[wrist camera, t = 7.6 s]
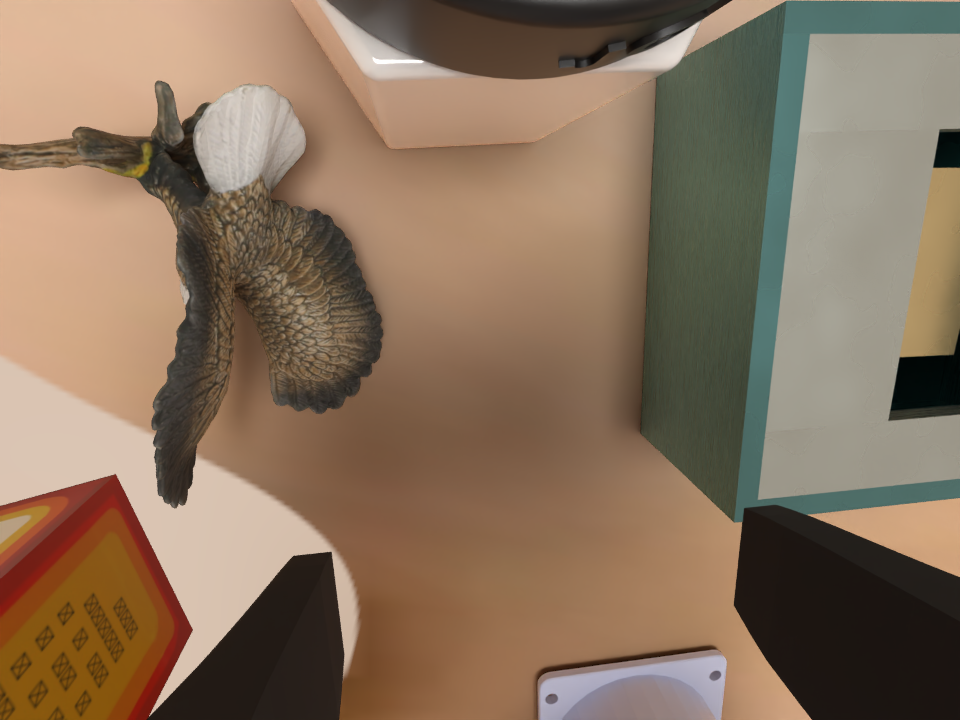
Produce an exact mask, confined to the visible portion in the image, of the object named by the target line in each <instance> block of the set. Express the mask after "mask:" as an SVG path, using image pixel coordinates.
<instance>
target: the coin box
mask: <svg viewBox="0 0 960 720" xmlns="http://www.w3.org/2000/svg"><path fill="white" fill-rule="evenodd" d="M933 168H960V2H907V1H785V2H783V3H782V4H780V5H778V6H776V7H774V8H773V9H771V10H769V11H767V12H765V13H763V14H762V15H760V16H758V17H756V18H754V19H753V20H751V21H749V22H747V23H745V24H744V25H742V26H740V27H738V28H736V29H734V30H733V31H731V32H729V33H727V34H725V35H724V36H722V37H720V38H718V39H716V40H715V41H713V42H711V43H709V44H707V45H705V46H704V47H702V48H700V49H698V50H696V51H695V52H693V53H691V54H689V55H687V56H686V57H684V58H682V59H681V61H680V62H679V63H678V65H677V66H676V67H674V68H673V69H671V70H669V71H668V72H666V73H664V74H662V75H660V76H658V77H657V87H656V109H655V131H654V152H653V174H652V195H651V217H650V239H649V260H648V282H647V303H646V325H645V347H644V368H643V390H642V412H641V434H642V435H643V436H644V437H645V438H646V439H647V440H648V441H649V442H650V443H651V444H652V445H653V446H654V447H656V448H657V449H658V450H659V451H660V452H661V453H662V454H663V455H664V456H665V457H666V458H667V459H668V460H669V461H670V462H671V463H672V464H673V465H674V466H675V467H676V468H678V469H679V470H680V471H681V472H682V473H683V474H684V475H685V476H686V477H687V478H688V479H689V480H690V481H691V482H692V483H693V484H694V485H695V486H696V487H697V488H698V489H700V490H701V491H702V492H703V493H704V494H705V495H706V496H707V497H708V498H709V499H710V500H711V501H712V502H713V503H714V504H715V505H716V506H717V507H718V508H719V509H720V510H722V511H723V512H724V513H725V514H726V515H727V516H728V517H729V518H730V519H731V520H732V521H733V522H743V513H744V508H748V507H758V506H767V505H779V506H782V507H785V508H788V509H791V510H794V511H797V512H800V513H803V514H805V515H808V514H817V513H826V512H835V511H844V510H853V509H862V508H872V507H881V506H890V505H899V504H908V503H917V502H927V501H936V500H945V499H954V498H960V329H959V334H958V338H957V342H956V347H955V351H954V355H934V356H913V357H900V351H901V346H902V340H903V334H904V329H905V323H906V317H907V312H908V306H909V300H910V295H911V289H912V283H913V278H914V272H915V266H916V261H917V255H918V249H919V244H920V238H921V232H922V227H923V221H924V215H925V210H926V204H927V198H928V193H929V187H930V181H931V176H932V170H933Z"/></svg>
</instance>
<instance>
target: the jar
mask: <svg viewBox="0 0 960 720" xmlns="http://www.w3.org/2000/svg"><path fill="white" fill-rule="evenodd" d="M730 1H732V0H291V2H292V4H293V5H294V7H295V9H296V10H297V12H298V13H299V15H300V16H301V18H302V19H303V21H304V22H305V24H306V25H307V27H308V28H309V30H310V31H311V33H312V34H313V36H314V37H315V39H316V40H317V42H318V43H319V45H320V46H321V48H322V49H323V51H324V52H325V54H326V55H327V57H328V58H329V60H330V61H331V63H332V64H333V66H334V68H335V69H336V71H337V72H338V74H339V75H340V77H341V78H342V80H343V81H344V83H345V84H346V86H347V87H348V89H349V90H350V92H351V93H352V95H353V96H354V98H355V99H356V101H357V102H358V104H359V105H360V107H361V108H362V110H363V111H364V113H365V114H366V116H367V117H368V119H369V120H370V122H371V123H372V125H373V126H374V128H375V129H376V131H377V132H378V134H379V135H380V137H381V139H382V140H383V142H384V143H385V144H386V146H388V147H389V148H391V149H407V148H427V147H447V146H468V145H488V144H508V143H528V142H536V141H538V140H540V139H542V138H543V137H545V136H547V135H549V134H551V133H553V132H555V131H557V130H558V129H560V128H562V127H564V126H566V125H568V124H570V123H572V122H573V121H575V120H577V119H579V118H581V117H583V116H585V115H587V114H588V113H590V112H592V111H594V110H596V109H598V108H600V107H602V106H603V105H605V104H607V103H609V102H611V101H613V100H615V99H617V98H618V97H620V96H622V95H624V94H626V93H628V92H630V91H632V90H634V89H635V88H637V87H639V86H641V85H643V84H645V83H647V82H649V81H651V80H652V79H654V78H656V77H658V76H660V75H662V74H664V73H666V72H668V71H669V70H671V69H673V68H674V67H676V66H677V65H678V63H679V62H680V61H681V59H682V58H683V56H684V54H685V52H686V50H687V48H688V46H689V45H690V43H691V41H692V39H693V37H694V35H695V33H696V31H697V29H698V27H699V25H700V24H701V22H702V20H703V19H704V18H706V17H707V16H709V15H710V14H712V13H713V12H715V11H716V10H718V9H719V8H721V7H722V6H724V5H726V4H727V3H729V2H730Z"/></svg>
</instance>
